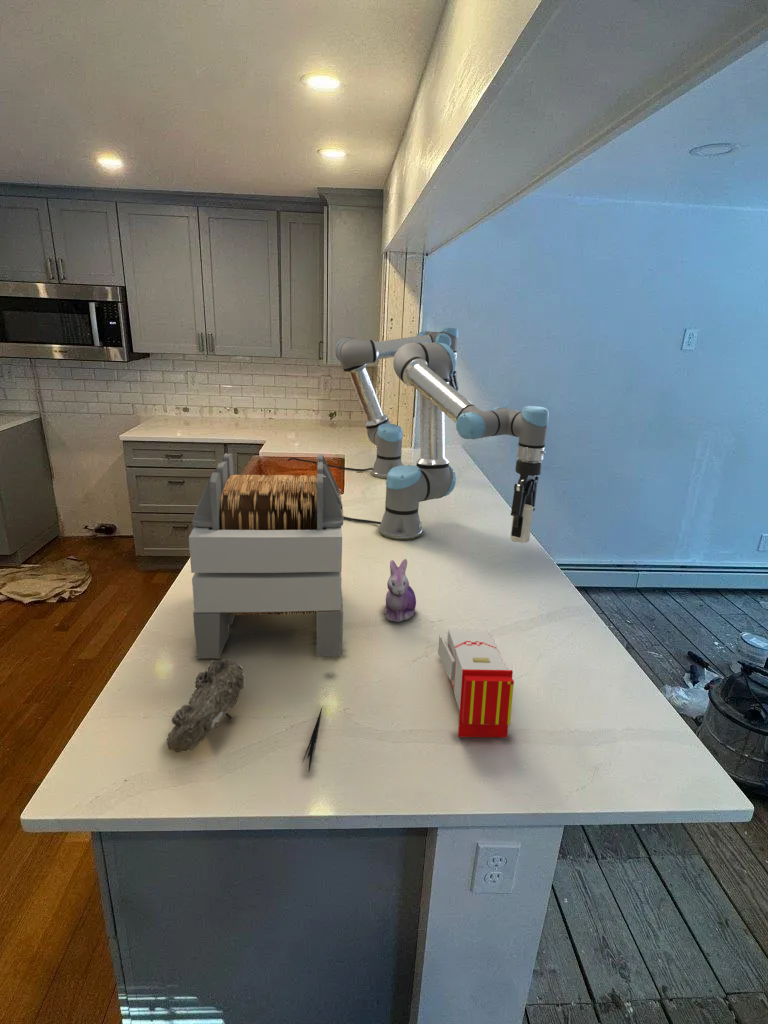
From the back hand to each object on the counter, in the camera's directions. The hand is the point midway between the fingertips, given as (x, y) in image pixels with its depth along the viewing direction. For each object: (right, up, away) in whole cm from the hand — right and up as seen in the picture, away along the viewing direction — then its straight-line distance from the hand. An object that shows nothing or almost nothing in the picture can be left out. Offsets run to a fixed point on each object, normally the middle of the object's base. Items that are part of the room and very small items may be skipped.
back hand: (444, 405), depth 281 cm
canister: (+12, -61, -106) cm, 123 cm away
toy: (-12, -90, -162) cm, 186 cm away
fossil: (-63, -92, -173) cm, 205 cm away
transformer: (-57, -80, -139) cm, 170 cm away
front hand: (+12, -59, -106) cm, 122 cm away
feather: (-42, -93, -172) cm, 200 cm away
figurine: (-26, -79, -133) cm, 157 cm away
